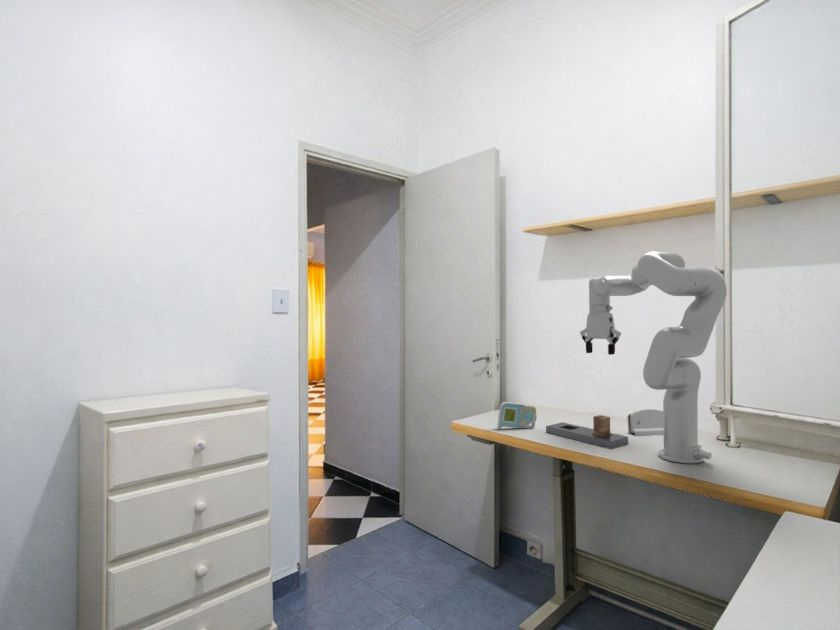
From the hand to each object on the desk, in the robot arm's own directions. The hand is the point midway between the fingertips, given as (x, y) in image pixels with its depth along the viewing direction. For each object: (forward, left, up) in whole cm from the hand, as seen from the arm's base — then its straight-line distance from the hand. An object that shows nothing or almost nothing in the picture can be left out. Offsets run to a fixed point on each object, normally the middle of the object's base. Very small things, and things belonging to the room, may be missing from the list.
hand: (600, 353), depth 183 cm
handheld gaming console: (+23, +22, -31) cm, 44 cm away
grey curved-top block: (-13, -12, -31) cm, 35 cm away
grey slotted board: (-2, +13, -30) cm, 33 cm away
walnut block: (-9, +13, -30) cm, 34 cm away
